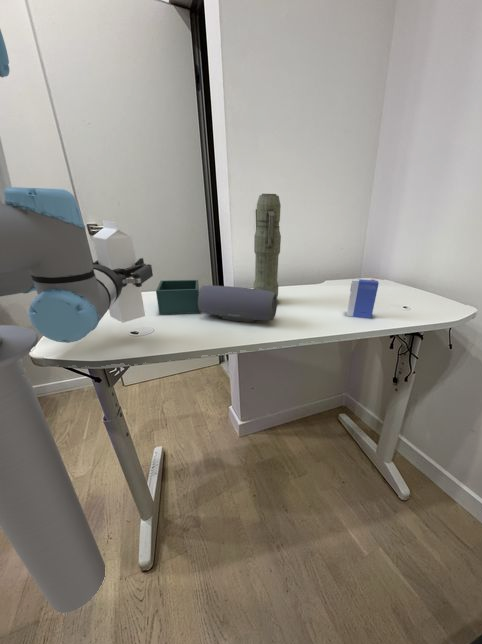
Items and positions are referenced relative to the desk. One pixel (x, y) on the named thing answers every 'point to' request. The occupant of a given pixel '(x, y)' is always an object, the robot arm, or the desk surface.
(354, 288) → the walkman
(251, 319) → the bluetooth speaker
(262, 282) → the thermos
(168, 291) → the box
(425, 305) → the desk surface
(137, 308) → the milk
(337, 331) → the desk surface
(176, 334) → the desk surface
